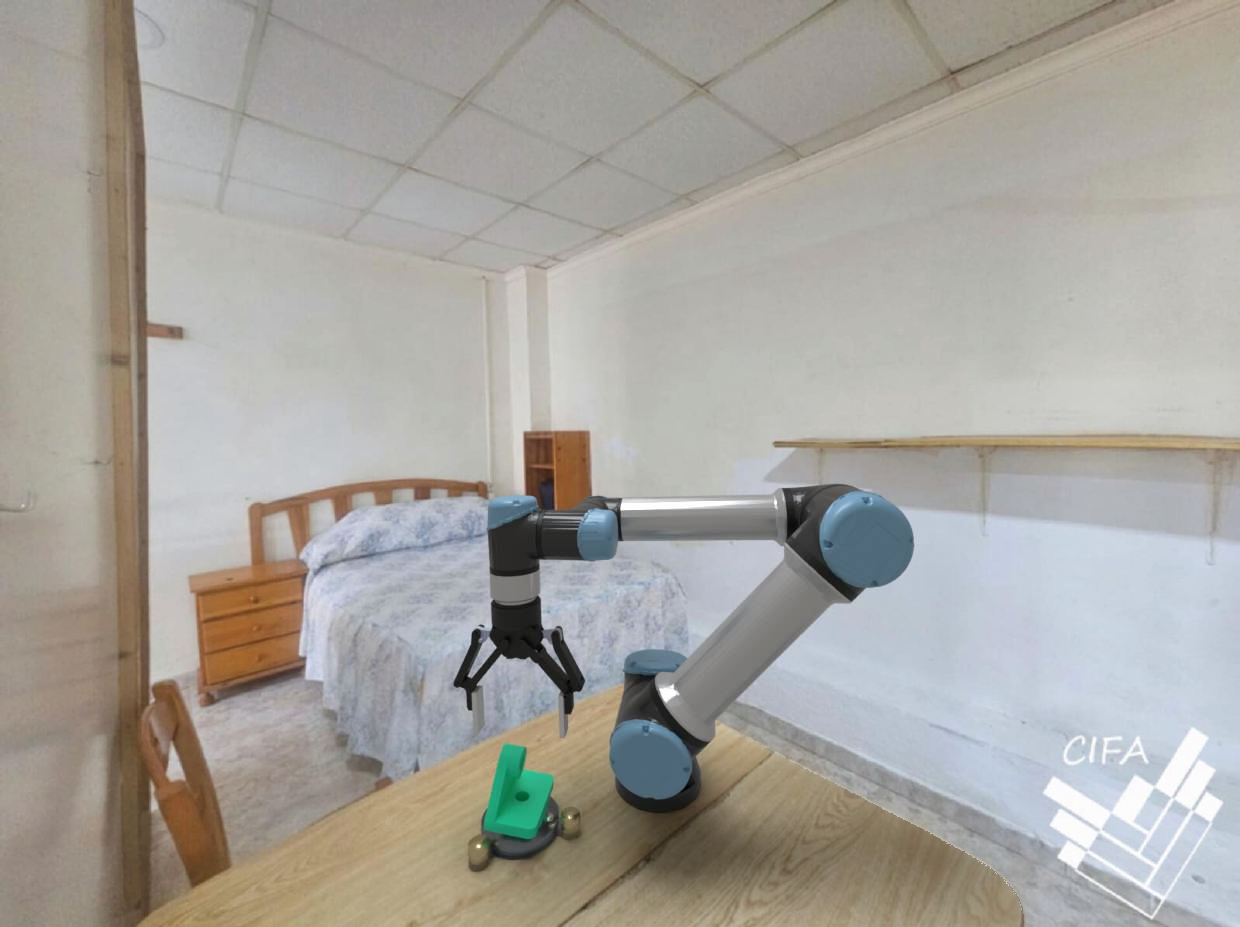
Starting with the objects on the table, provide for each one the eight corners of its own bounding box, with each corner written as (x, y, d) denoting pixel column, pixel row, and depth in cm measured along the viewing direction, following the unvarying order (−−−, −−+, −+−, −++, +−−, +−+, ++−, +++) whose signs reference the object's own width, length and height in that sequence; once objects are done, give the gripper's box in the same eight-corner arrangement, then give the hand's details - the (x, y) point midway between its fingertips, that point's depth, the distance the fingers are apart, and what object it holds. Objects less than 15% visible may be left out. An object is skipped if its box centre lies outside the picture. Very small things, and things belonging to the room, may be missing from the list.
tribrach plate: (589, 794, 89) (589, 778, 89) (568, 880, 72) (568, 859, 72) (502, 788, 91) (501, 771, 90) (461, 869, 74) (461, 850, 74)
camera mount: (533, 847, 75) (540, 780, 74) (482, 836, 76) (489, 770, 75) (553, 789, 87) (559, 732, 86) (510, 781, 88) (515, 723, 87)
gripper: (600, 590, 81) (604, 720, 83) (449, 588, 84) (455, 714, 86) (592, 607, 74) (596, 749, 75) (426, 604, 77) (433, 741, 78)
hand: (521, 731), depth 80 cm, fingers open, 13 cm apart
